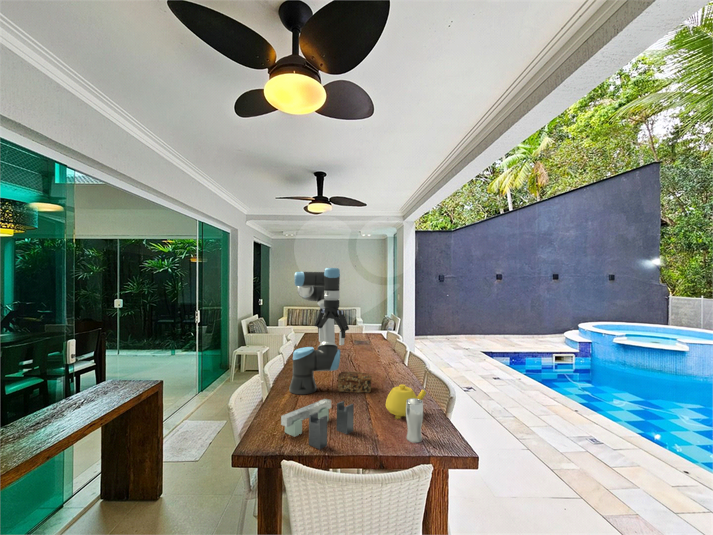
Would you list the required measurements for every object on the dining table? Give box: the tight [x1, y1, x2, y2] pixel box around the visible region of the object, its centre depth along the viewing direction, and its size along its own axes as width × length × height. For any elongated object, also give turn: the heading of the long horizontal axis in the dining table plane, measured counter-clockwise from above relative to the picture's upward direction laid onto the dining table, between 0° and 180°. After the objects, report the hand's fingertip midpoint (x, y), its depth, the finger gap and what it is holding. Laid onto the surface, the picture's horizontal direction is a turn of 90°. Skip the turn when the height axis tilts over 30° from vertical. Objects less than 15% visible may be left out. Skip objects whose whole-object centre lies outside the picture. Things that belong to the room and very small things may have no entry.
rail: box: [280, 398, 332, 428], centre depth 150 cm, size 4×26×4 cm, turn 142°
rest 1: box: [284, 419, 303, 438], centre depth 143 cm, size 6×4×6 cm, turn 52°
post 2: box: [336, 400, 355, 435], centre depth 146 cm, size 6×4×11 cm
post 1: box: [308, 412, 328, 450], centre depth 133 cm, size 6×4×11 cm
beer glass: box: [405, 398, 424, 444], centre depth 139 cm, size 7×7×15 cm
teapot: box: [385, 384, 428, 420], centre depth 164 cm, size 20×16×14 cm
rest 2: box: [318, 407, 330, 422], centre depth 156 cm, size 6×4×6 cm, turn 52°
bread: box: [337, 371, 372, 394], centre depth 198 cm, size 19×11×10 cm, turn 88°
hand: (331, 343), depth 170 cm, fingers open, 13 cm apart
